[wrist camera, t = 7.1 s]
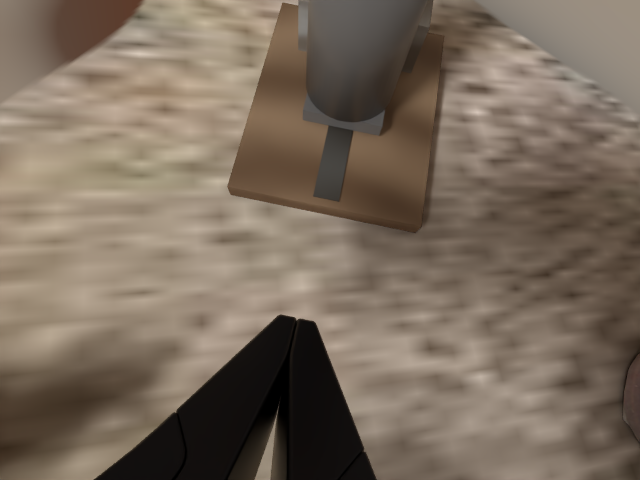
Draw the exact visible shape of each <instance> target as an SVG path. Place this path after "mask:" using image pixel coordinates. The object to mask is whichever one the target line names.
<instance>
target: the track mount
mask: <svg viewBox="0 0 640 480" xmlns="http://www.w3.org/2000/svg"><path fill="white" fill-rule="evenodd" d="M308 4H309V0H299V2H298V6H297V5H292V4H287V3H282V6H281V9H280V13H279V16H278V19H277V23H276V26H275V29H274V33H273V36H272V39H271V43H270V46H269V49H268V53H267V56H266V59H265V63H264V66H263V69H262V73H261V76H260V79H259V83H258V86H257V89H256V93H255V96H254V99H253V103H252V106H251V109H250V113H249V116H248V119H247V123H246V126H245V129H244V133H243V136H242V139H241V143H240V146H239V149H238V153H237V156H236V159H235V163H234V166H233V169H232V173H231V176H230V179H229V183H228V186H227V187H228V189H229V192H230V194H231V195H235V196H239V197H244V198H249V199H254V200H259V201H264V202H269V203H273V204H278V205H283V206H288V207H293V208H298V209H302V210H307V211H312V212H317V213H322V214H327V215H332V216H336V217H341V218H346V219H351V220H356V221H361V222H365V223H370V224H375V225H380V226H385V227H390V228H395V229H399V230H404V231H409V232H414V233H416V232H417V231H418V229H419V228H420V227H421V225H422V217H423V209H424V200H425V192H426V184H427V175H428V167H429V159H430V150H431V142H432V134H433V125H434V117H435V109H436V101H437V92H438V84H439V76H440V67H441V59H442V51H443V42H444V36H442V35H437V34H432V33H428V30H429V28H430V21H431V13H432V6H433V0H428V1H427V4H426V6H425V9H424V12H423V14H422V17H421V20H420V23H419V25H418V28H417V31H416V33H415V36H414V39H413V41H412V44H411V47H410V50H409V52H408V55H407V58H406V60H405V63H404V66H403V68H402V71H401V74H400V76H399V79H398V82H397V85H396V87H395V90H394V93H393V95H392V98H391V100H390V103H389V104H388V106H387V107H386V108H385V114H384V119H383V125H382V129H381V131H380V134H379V136H378V135H373V134H368V133H363V132H358V131H353V130H349V129H344V128H339V127H334V126H329V125H324V124H319V123H315V122H310V121H305V120H303V108H304V104H305V100H306V96H307V90H306V61H307V33H308Z"/></svg>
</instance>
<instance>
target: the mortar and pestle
mask: <svg viewBox="0 0 640 480" xmlns="http://www.w3.org/2000/svg"><path fill="white" fill-rule="evenodd" d="M623 420H624V421H625V422H626V423H627V424H628V425H629V426H630V428H631V430H632V431H633V433H634V435H635V436H636V438H637V439H638V441H639V442H640V353H639V354H638V355H637V357H636V358H635V359H634V361H633V362H632V364H631V366H630V368H629V370H628V375H627V380H626V385H625V390H624V402H623Z"/></svg>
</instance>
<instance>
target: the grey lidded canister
mask: <svg viewBox="0 0 640 480" xmlns="http://www.w3.org/2000/svg"><path fill="white" fill-rule="evenodd" d="M427 1H428V0H309V4H308V33H307V61H306V90H307V96H306V100H305V104H304V108H303V120H305V121H310V122H315V123H319V124H324V125H329V126H334V127H339V128H344V129H349V130H353V131H358V132H363V133H368V134H373V135H378V136H379V134H380V131H381V129H382V125H383V119H384V114H385V108H386V107H387V106H388V104H389V103H390V100H391V98H392V95H393V93H394V90H395V87H396V85H397V82H398V79H399V76H400V74H401V71H402V68H403V66H404V63H405V60H406V58H407V55H408V52H409V50H410V47H411V44H412V41H413V39H414V36H415V33H416V31H417V28H418V25H419V23H420V20H421V17H422V14H423V12H424V9H425V6H426V4H427Z"/></svg>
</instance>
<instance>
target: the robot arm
mask: <svg viewBox="0 0 640 480" xmlns="http://www.w3.org/2000/svg"><path fill="white" fill-rule="evenodd" d="M279 402H280V403H279ZM278 407H279V408H278ZM277 411H278V413H277ZM276 415H277V419H276V427H275V438H274V448H273V458H272V469H271V479H270V480H377V479H376V477H375V474H374V472H373V469H372V467H371V464H370V461H369V459H368V456H367V454H366V452H363V451H364V446H363V444H362V441H361V439H360V436H359V434H358V431H357V428H356V426H355V423H354V421H353V418H352V415H351V413H350V410H349V408H348V405H347V403H346V400H345V397H344V395H343V392H342V390H341V387H340V384H339V382H338V379H337V377H336V374H335V372H334V369H333V366H332V364H331V361H330V359H329V356H328V353H327V351H326V348H325V346H324V343H323V341H322V338H321V335H320V333H319V330H318V328H317V325H316V323H315V322H314V321H310V320H305V319H298V320H296V318H295V317H290V316H285V315H278V316H277V317H276V318H275V319H274V320H273V321H272V322H271V323H270V324H269V325H267V326H266V327H265V328H264V329H263V330H262V331H261V332H260V333H259V334H258V335H257V336H256V337H254V338H253V339H252V340H251V341H250V342H249V343H248V344H247V345H246V346H245V347H244V348H243V349H242V350H240V351H239V352H238V353H237V354H236V355H235V356H234V357H233V358H232V359H231V360H230V361H229V362H228V363H226V364H225V365H224V366H223V367H222V368H221V369H220V370H219V371H218V372H217V373H216V374H215V375H214V376H212V377H211V378H210V379H209V380H208V381H207V382H206V383H205V384H204V385H203V386H202V387H201V388H200V389H198V390H197V391H196V392H195V393H194V394H193V395H192V396H191V397H190V398H189V399H188V400H187V401H186V402H184V403H183V404H182V405H181V406H180V407H179V408H178V409H177V411H176V413H175V412H174V413H172V414H171V415H170V416H169V417H168V418H167V419H166V420H165V421H164V422H163V423H162V424H161V425H159V426H158V427H157V428H156V429H155V430H154V431H153V432H152V433H150V434H149V435H148V436H147V437H146V438H145V439H144V440H142V441H141V442H140V443H139V444H138V445H137V446H136V447H135V448H133V449H132V450H131V451H130V452H128V453H127V454H126V455H125V456H123V457H122V458H121V459H120V460H118V461H117V462H116V463H114V464H113V465H112V466H111V467H109V468H108V469H107V470H106V471H104V472H103V473H102V474H101V475H99V476H98V477H97V478H95V479H94V480H254V479H255V477H256V474H257V471H258V468H259V465H260V462H261V459H262V456H263V454H264V451H265V448H266V445H267V442H268V439H269V436H270V434H271V431H272V428H273V425H274V422H275V418H276Z"/></svg>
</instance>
